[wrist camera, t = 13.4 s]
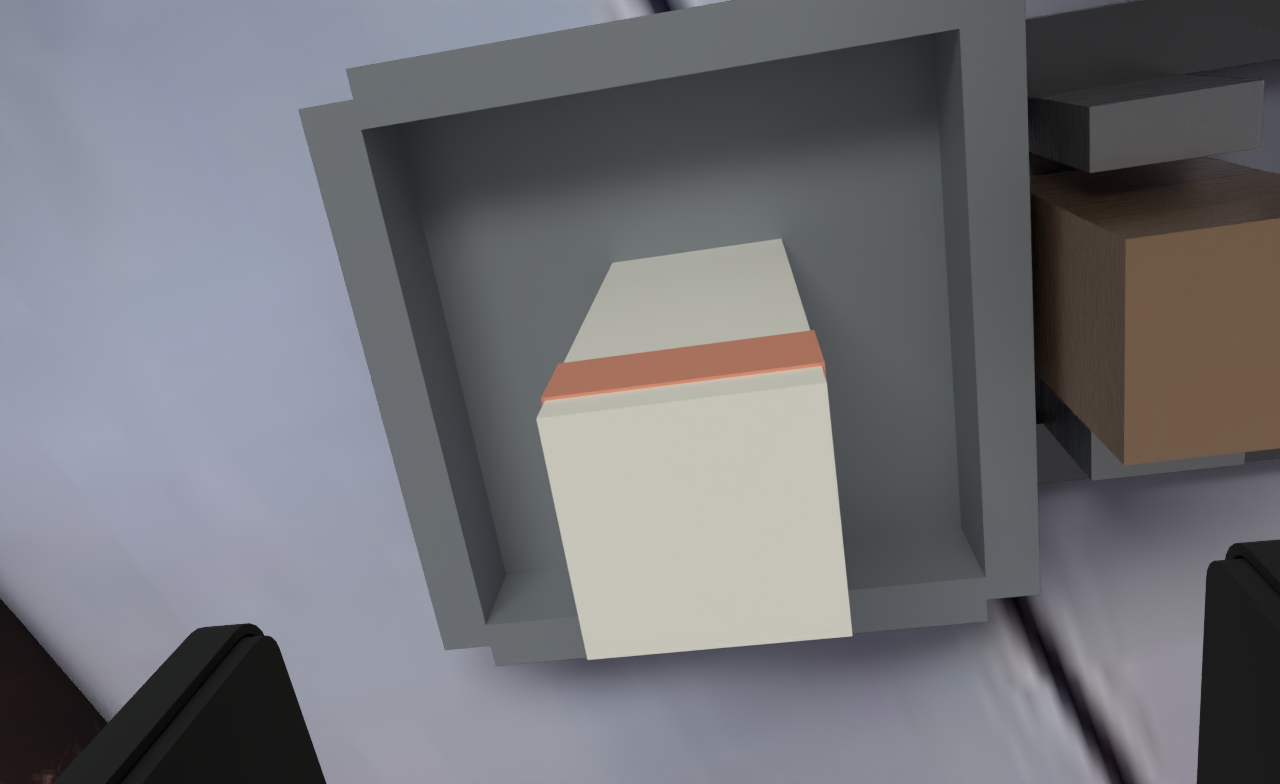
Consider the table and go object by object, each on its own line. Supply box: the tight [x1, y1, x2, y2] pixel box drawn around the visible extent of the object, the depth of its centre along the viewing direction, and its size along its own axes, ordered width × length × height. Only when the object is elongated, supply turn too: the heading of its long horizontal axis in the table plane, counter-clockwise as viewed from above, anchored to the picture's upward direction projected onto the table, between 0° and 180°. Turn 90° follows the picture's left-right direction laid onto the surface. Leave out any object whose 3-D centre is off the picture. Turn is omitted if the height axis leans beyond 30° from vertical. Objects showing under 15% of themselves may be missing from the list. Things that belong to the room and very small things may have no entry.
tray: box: [298, 0, 1040, 666], centre depth 22 cm, size 14×14×3 cm
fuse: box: [536, 239, 853, 660], centre depth 18 cm, size 4×4×10 cm
